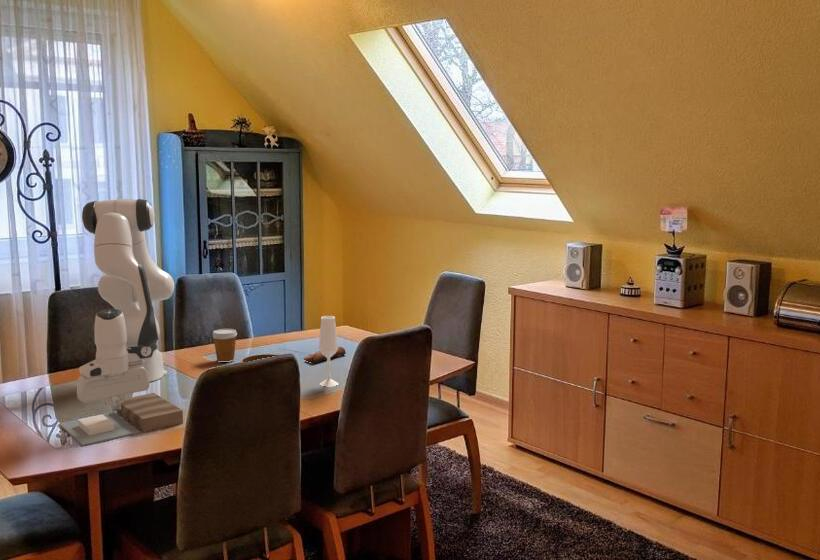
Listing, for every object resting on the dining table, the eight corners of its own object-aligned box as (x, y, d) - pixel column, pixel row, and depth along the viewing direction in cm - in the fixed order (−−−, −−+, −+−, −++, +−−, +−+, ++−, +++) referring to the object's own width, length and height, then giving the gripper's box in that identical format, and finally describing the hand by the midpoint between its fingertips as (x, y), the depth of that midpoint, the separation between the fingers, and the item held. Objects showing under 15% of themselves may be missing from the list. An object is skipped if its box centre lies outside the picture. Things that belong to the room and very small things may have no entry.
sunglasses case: (330, 351, 309) (336, 339, 306) (341, 362, 306) (347, 350, 303) (298, 361, 295) (304, 348, 292) (309, 372, 292) (315, 359, 289)
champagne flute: (325, 388, 261) (324, 320, 257) (315, 383, 266) (314, 316, 263) (342, 384, 265) (341, 317, 261) (332, 380, 270) (331, 314, 266)
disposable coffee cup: (231, 365, 290) (230, 334, 288) (208, 363, 292) (207, 333, 290) (242, 358, 299) (241, 329, 297) (220, 357, 301) (219, 327, 299)
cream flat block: (102, 414, 226) (102, 420, 226) (77, 419, 222) (78, 426, 222) (114, 423, 219) (114, 429, 219) (89, 428, 214) (89, 435, 214)
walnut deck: (116, 412, 235) (116, 400, 235) (154, 404, 243) (153, 392, 242) (143, 432, 219) (142, 419, 218) (183, 423, 226) (182, 410, 226)
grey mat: (58, 424, 224) (58, 423, 224) (113, 413, 235) (113, 411, 234) (82, 446, 208) (82, 444, 208) (140, 433, 218) (140, 431, 218)
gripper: (143, 357, 230) (145, 400, 233) (73, 368, 217) (76, 414, 220) (151, 361, 226) (153, 405, 228) (80, 373, 213) (83, 420, 215)
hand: (115, 410), depth 224 cm, fingers closed
